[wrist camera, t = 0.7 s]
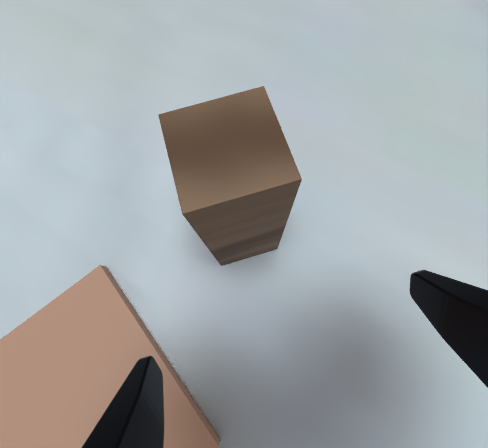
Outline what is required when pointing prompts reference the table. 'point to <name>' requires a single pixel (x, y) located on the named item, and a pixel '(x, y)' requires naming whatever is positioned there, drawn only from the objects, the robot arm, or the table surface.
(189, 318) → the table surface
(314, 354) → the table surface
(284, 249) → the table surface
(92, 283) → the terracotta mat
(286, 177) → the walnut block
